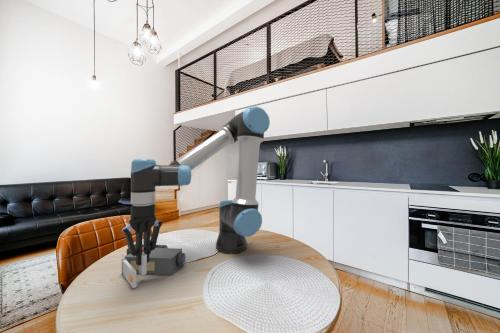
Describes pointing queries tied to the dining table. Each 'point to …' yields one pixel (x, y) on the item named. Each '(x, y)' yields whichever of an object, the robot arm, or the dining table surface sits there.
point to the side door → (129, 273)
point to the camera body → (161, 261)
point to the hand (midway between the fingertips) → (142, 273)
